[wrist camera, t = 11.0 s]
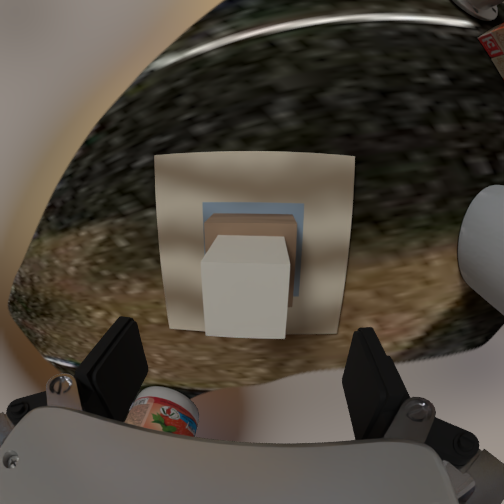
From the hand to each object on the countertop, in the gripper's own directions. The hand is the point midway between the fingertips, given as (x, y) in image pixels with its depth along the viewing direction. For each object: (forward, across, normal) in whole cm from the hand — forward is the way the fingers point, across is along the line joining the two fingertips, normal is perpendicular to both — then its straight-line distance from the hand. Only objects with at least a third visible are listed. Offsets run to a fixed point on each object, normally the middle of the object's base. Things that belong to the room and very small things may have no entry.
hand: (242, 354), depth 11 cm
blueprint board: (+16, +1, +1) cm, 16 cm away
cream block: (+11, 0, +1) cm, 11 cm away
